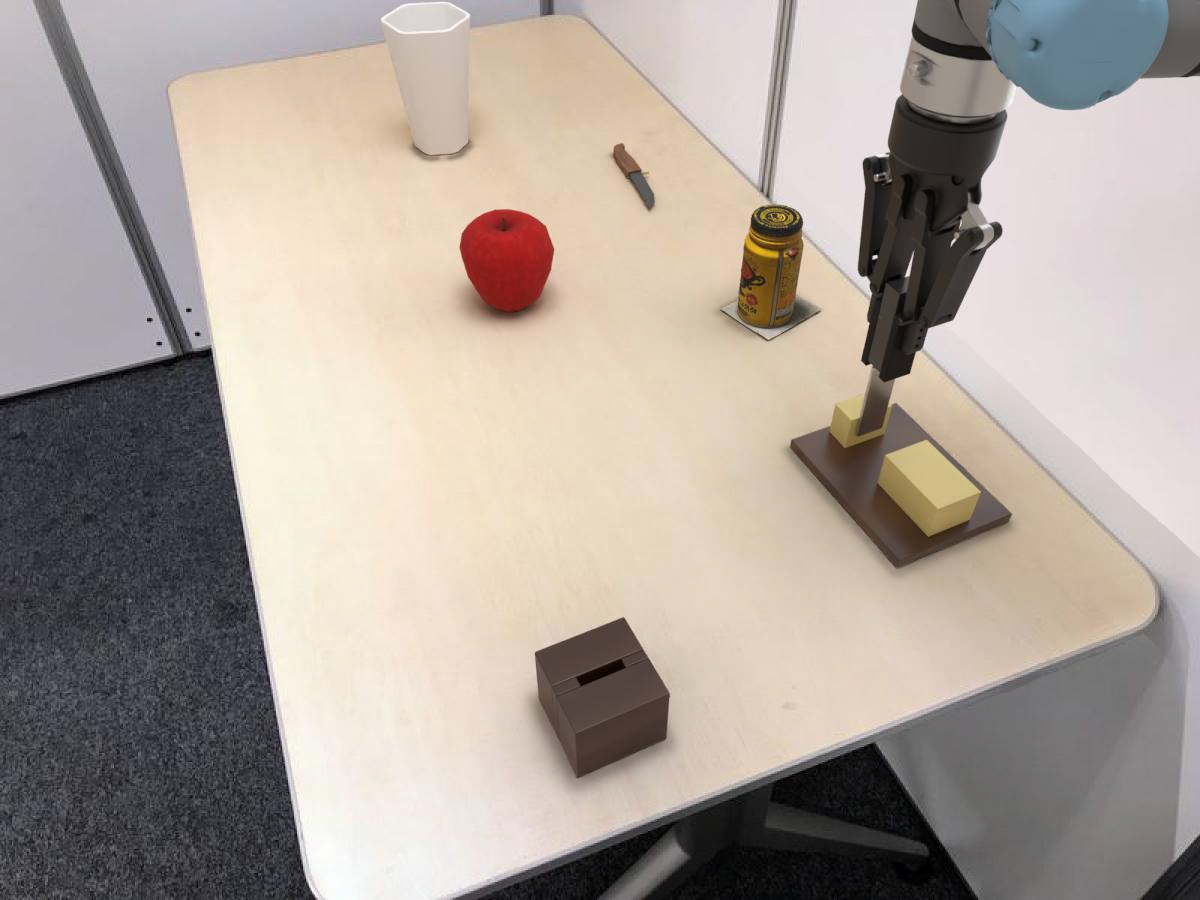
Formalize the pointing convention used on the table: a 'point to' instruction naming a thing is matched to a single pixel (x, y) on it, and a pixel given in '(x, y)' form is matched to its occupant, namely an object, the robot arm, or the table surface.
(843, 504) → the butter board
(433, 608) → the table surface
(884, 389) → the butter knife
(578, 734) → the knife block
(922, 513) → the butter block
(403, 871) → the table surface
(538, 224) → the apple
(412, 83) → the cup
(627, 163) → the knife
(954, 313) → the robot arm
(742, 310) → the condiment
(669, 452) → the table surface
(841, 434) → the butter slice
